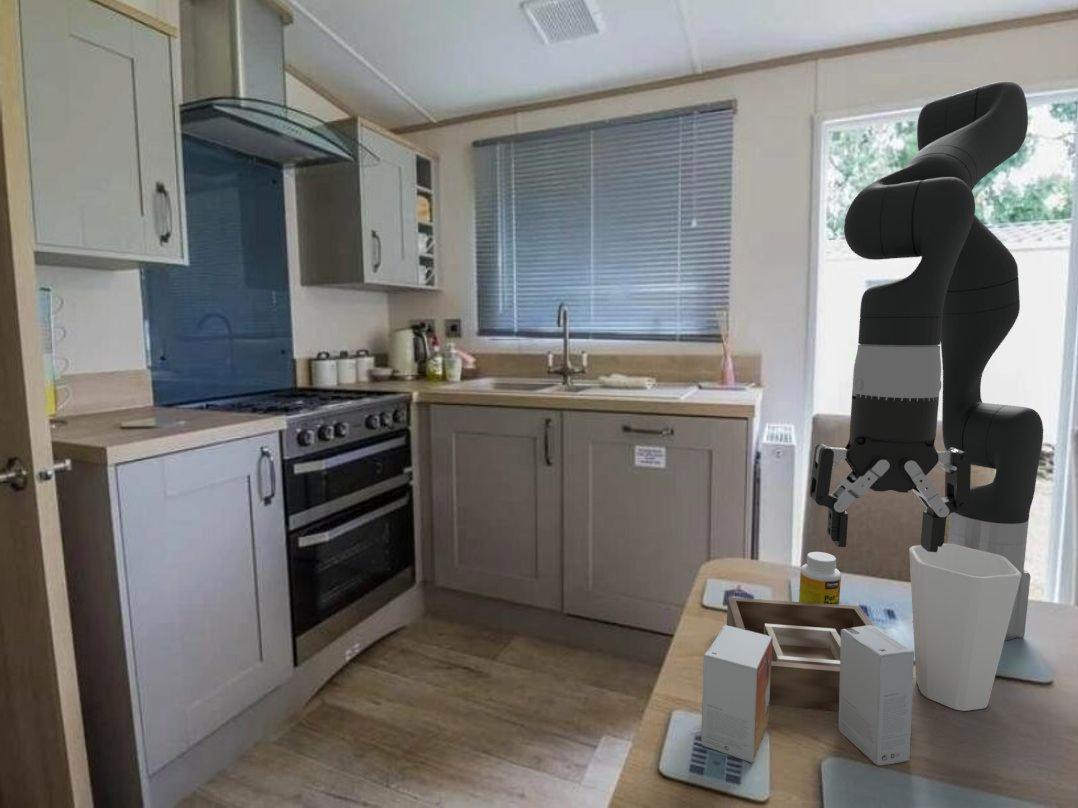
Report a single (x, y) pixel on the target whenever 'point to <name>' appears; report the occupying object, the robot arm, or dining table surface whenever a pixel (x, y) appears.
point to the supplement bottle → (820, 579)
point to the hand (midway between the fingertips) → (883, 547)
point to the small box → (736, 692)
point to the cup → (960, 621)
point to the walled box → (800, 646)
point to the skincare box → (876, 694)
